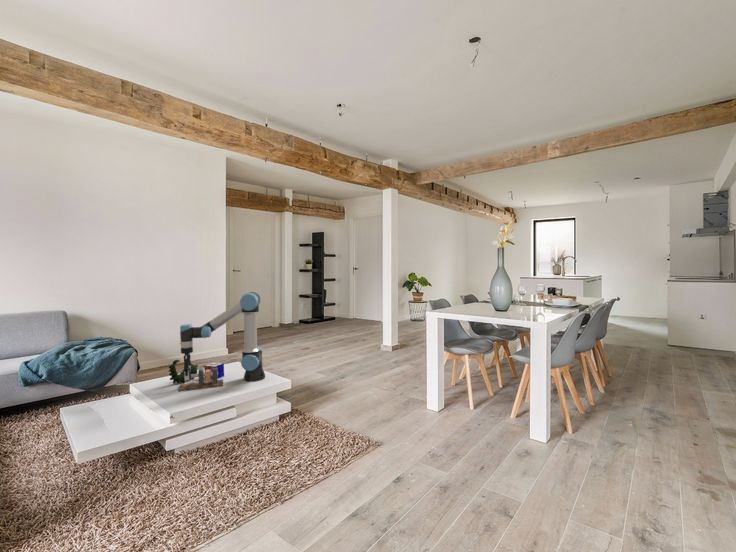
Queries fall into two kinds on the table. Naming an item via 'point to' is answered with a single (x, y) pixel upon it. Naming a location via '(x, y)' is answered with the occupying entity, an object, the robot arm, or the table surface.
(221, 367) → the puzzle cube
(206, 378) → the spacer
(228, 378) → the table surface
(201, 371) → the shaft stand
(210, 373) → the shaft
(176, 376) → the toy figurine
